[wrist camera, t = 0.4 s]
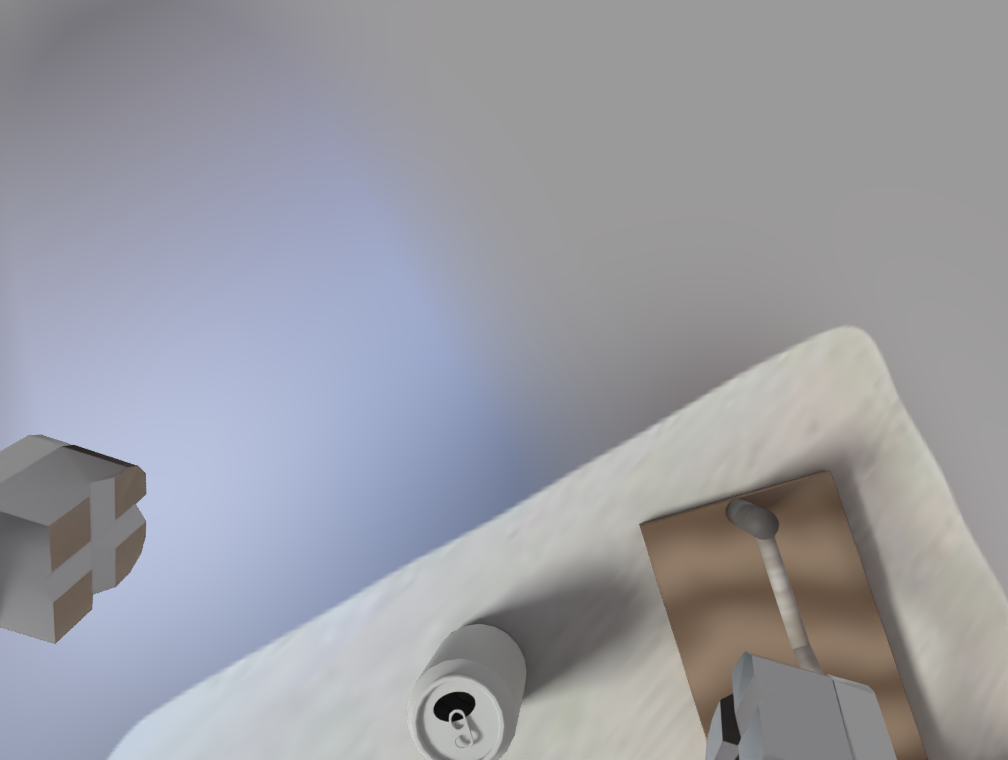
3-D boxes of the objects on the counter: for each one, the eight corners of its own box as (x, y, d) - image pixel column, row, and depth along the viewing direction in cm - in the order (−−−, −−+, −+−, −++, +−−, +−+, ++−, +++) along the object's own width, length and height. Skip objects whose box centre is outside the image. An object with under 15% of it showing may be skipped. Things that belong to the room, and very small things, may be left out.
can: (510, 609, 62) (494, 652, 50) (540, 700, 61) (530, 766, 49) (423, 636, 62) (386, 685, 50) (451, 727, 62) (420, 798, 50)
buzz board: (959, 871, 57) (1073, 1004, 44) (762, 919, 58) (815, 1063, 45) (824, 470, 60) (893, 482, 47) (639, 524, 61) (655, 549, 48)
